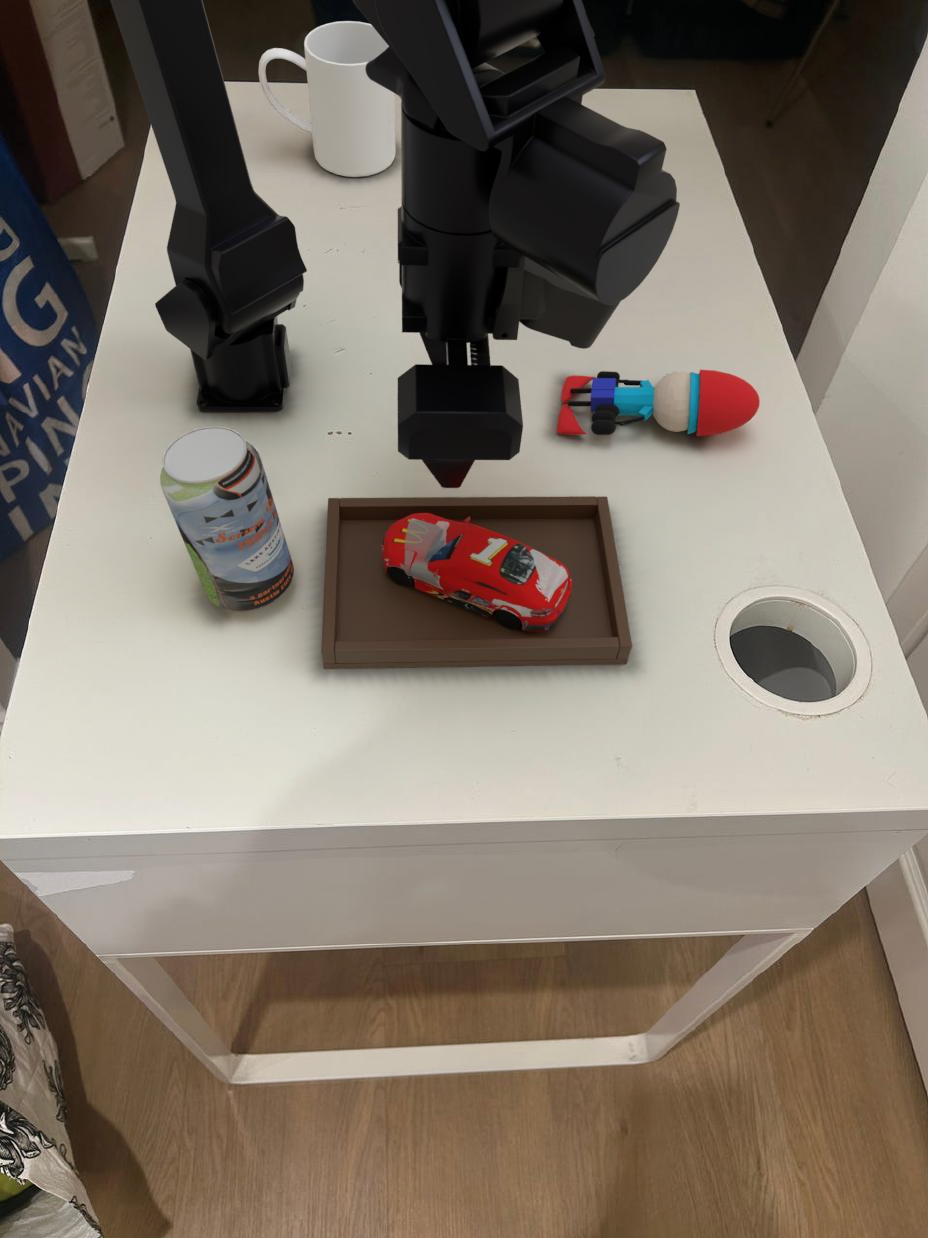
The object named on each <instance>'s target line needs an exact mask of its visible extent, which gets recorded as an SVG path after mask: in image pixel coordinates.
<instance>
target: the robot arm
mask: <svg viewBox="0 0 928 1238" xmlns="http://www.w3.org/2000/svg"><path fill="white" fill-rule="evenodd" d="M109 1H110V4H111V7H112V10H113V13H114V16H115V18H116V21H117V26H118V28H119V31H120V34H121V37H122V40H123V43H124V46H125V50H126V52H127V56H128V58H129V61H130V64H131V67H132V71H133V73H134V77H135V81H136V82H137V86H138V88H139V89H138V90H139V91H140V95H141V98H142V101H143V105H144V107H145V110H146V114H147V116H148V119H149V123H150V125H151V128H152V131H153V134H154V135H153V136H154V138H155V140H156V143H157V144H156V145H157V147H158V150H159V152H160V153H159V154H160V155H161V159H162V162H163V165H164V168H165V172H166V174H167V177H168V180H169V183H170V186H171V189H172V192H173V196H174V200H175V207H174V212H173V217H172V221H171V225H170V231H169V236H168V240H167V244H166V252H167V256H168V261H169V265H170V269H171V273H172V276H173V281H174V283H175V284H174V287H172V288H171V289H170V290H168V292H167V293H166V294H164V295H163V296H162V297H160V298H159V299H158V300H157V301H156V302H155V303H154V306H155V308H156V311H157V312H158V315H159V318H160V320H161V323H162V324H163V326H164V329H165V331H167V333H169V334H170V335H171V336H172V337H174V338H175V339H177V340H178V341H179V342H180V343H182V344H183V345H185V347H187V348H188V349H189V350H190V354H191V359H192V362H193V367H194V371H195V375H196V379H197V383H198V390H197V397H196V407H197V409H198V410H199V411H200V412H280V411H281V410H283V408H284V401H285V389H289V388H290V385H291V376H292V375H291V373H292V362H291V354H290V345H289V339H288V332H287V331H288V330H287V326H285V324H283V323H279V322H278V316H280V315H281V314H283V313H285V312H286V311H291V310H292V309H294V308H296V304H297V300H298V298H299V296H300V294H301V293H302V292H303V291H304V284H305V278H304V274H305V273H306V272H308V270H307V267H306V265H305V262H304V261H303V258H302V255H301V253H300V249H299V244H298V240H297V231H296V226H295V224H294V223H293V222H292V221H291V219H290V218H289V217H287V216H284V215H279V214H278V213H277V212H276V211H275V210H274V209H273V208H272V207H271V206H270V205H269V204H268V203H267V202H266V201H265V200H264V199H263V198H262V197H261V196H260V195H259V194H258V193H257V192H256V191H255V189H254V186H253V184H252V181H251V178H250V173H249V169H248V166H247V161H246V158H245V154H244V151H243V147H242V143H241V140H240V136H239V132H238V129H237V128H238V127H237V124H236V122H235V121H236V120H235V117H234V113H233V109H232V105H231V102H230V99H229V98H230V97H229V95H228V91H227V88H226V84H225V83H226V82H225V79H224V75H223V72H222V68H221V65H220V60H219V57H218V53H217V50H216V46H215V42H214V38H213V34H212V31H211V27H210V24H209V20H208V16H207V11H206V9H205V4H204V1H203V0H109ZM352 2H353V5H355V8H357V10H358V11H359V12H360V13H361V14H362V16H363V17H364V19H366V20H367V22H368V24H371V25H372V26H373V27H374V29H375V30H376V31H377V32H378V34H379V35H380V36H381V37H382V38H383V40H384V41H385V42H386V43H387V45H388V46H389V47H388V48H387V49H386V50H385V51H383V52H382V53H381V54H380V55H378V56H377V57H376V58H375V59H373V60H371V61H369V62H368V63H367V64H366V67H365V70H366V74H367V76H368V77H369V79H370V80H372V81H374V82H376V83H377V84H379V85H381V86H383V87H384V88H386V89H388V90H390V91H392V92H393V93H394V94H395V95H396V96H398V97H399V98H400V101H401V102H400V133H401V134H400V153H401V154H400V155H401V156H400V159H401V161H400V164H401V165H400V168H401V169H400V170H401V173H400V174H401V175H400V176H401V177H400V178H401V181H400V182H401V183H400V185H401V188H400V189H401V190H400V191H401V194H400V195H401V201H400V202H401V206H400V207H398V209H397V264H398V269H399V271H398V276H399V277H398V279H399V280H398V281H399V285H400V289H401V333H406V334H407V333H409V334H410V333H413V334H414V333H416V334H417V333H419V336H420V338H421V340H422V343H423V345H424V348H425V351H426V353H427V356H428V358H429V360H430V363H431V364H429V363H428V364H427V363H425V364H423V363H421V364H420V363H419V364H418V363H416V364H414V365H412V366H411V367H410V368H408V369H407V370H406V371H405V372H403V373H402V374H400V376H398V377H397V452H398V453H399V454H401V455H402V456H403V457H404V458H406V459H407V460H408V461H409V460H411V461H413V460H414V461H418V460H419V461H420V460H421V461H422V463H423V464H424V466H425V467H426V468H427V469H428V470H429V472H430V473H431V475H432V476H433V477H434V479H435V480H436V481H437V483H438V485H440V487H441V488H443V489H459V488H461V486H462V485H463V483H464V481H465V480H466V478H467V476H468V474H469V472H470V470H471V468H472V467H473V465H474V463H475V461H510V460H512V459H513V458H514V457H515V456H517V455H518V454H520V451H521V443H522V438H523V437H522V436H523V429H524V420H523V411H522V403H521V402H522V399H521V391H520V389H521V388H520V380H519V378H518V377H516V376H515V375H514V374H513V373H512V372H510V371H509V370H508V369H507V368H506V367H505V366H504V365H499V364H498V365H497V364H491V353H490V351H491V350H490V342H489V341H490V340H489V339H490V338H489V335H492V338H493V340H494V341H518V338H519V337H518V335H519V327H520V324H522V325H523V326H524V327H525V328H527V329H529V330H531V331H535V332H537V333H540V334H544V335H547V336H550V337H554V338H557V339H560V340H562V341H566V342H568V343H569V344H570V346H572V347H574V348H577V349H582V350H583V349H584V350H585V349H589V348H591V347H592V346H593V344H594V343H595V341H596V339H597V338H598V337H599V335H600V333H602V331H603V329H604V328H605V326H606V325H607V323H608V321H609V320H610V319H611V317H612V316H613V314H614V313H615V311H616V309H617V308H618V306H619V305H620V304H621V302H622V301H623V300H625V299H626V298H628V297H629V296H630V295H631V294H632V293H633V292H634V291H635V290H636V289H637V288H639V286H641V284H642V283H643V282H644V280H645V279H646V278H647V277H648V275H650V273H651V271H652V270H653V268H654V267H655V266H656V264H657V262H658V261H659V259H660V257H661V256H662V254H663V252H664V251H665V248H666V246H667V245H668V242H669V240H670V237H671V236H672V234H673V231H674V229H675V228H674V227H675V225H676V222H677V219H678V215H679V211H680V206H681V205H680V204H681V203H680V202H679V201H678V200H677V198H678V197H677V194H678V188H677V182H676V179H675V178H674V177H673V175H672V174H671V173H669V172H668V171H666V170H664V169H663V166H664V164H665V163H664V162H665V159H666V154H667V151H668V150H667V146H666V144H665V142H664V141H663V140H661V139H659V138H658V137H655V136H653V135H652V134H649V133H647V132H645V131H643V130H641V129H635V128H630V127H627V126H624V125H622V124H620V123H618V122H617V121H614V120H612V119H611V118H609V117H606V116H604V115H602V114H600V113H599V112H597V111H595V110H593V109H591V108H589V107H587V106H586V105H584V104H582V103H583V96H584V95H586V94H588V93H589V92H591V91H593V90H595V89H597V88H599V87H600V86H602V85H603V84H605V81H606V71H605V68H604V66H603V63H602V60H601V55H600V53H599V50H598V47H597V43H596V40H595V38H594V37H595V35H596V34H595V32H594V30H593V27H592V25H591V23H590V21H589V18H588V15H587V11H586V8H585V6H584V3H583V0H352ZM534 38H536V39H537V40H538V43H539V44H540V45H541V47H542V49H543V50H544V53H542V54H540V55H538V56H537V57H534V58H532V59H530V60H528V61H527V62H525V63H522V64H521V65H519V66H517V67H515V68H514V69H512V70H510V71H508V72H506V73H505V72H503V71H502V70H500V69H498V68H497V67H495V66H492V65H490V64H488V63H487V62H489V61H491V60H493V59H495V58H497V57H499V56H501V55H502V54H505V53H506V52H509V51H511V50H513V49H514V48H517V47H518V46H521V45H523V44H524V43H527V42H528V41H530V40H532V39H534ZM468 344H469V353H470V354H469V357H468ZM468 358H470V364H469V360H468Z"/></svg>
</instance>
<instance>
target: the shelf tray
mask: <svg viewBox="0 0 928 1238" xmlns="http://www.w3.org/2000/svg"><path fill="white" fill-rule="evenodd" d="M416 513H430V514H433V515H436V516H439V517H442V518H445V519H449V520H452V521H456V522H462V523H463V521H464V520H465V519H467V518H468V517H471V518H470V521H469V524H473V525H477V526H480V527H483V528H485V529H488V530H491V531H493V532H496V533H498V534H501V535H504V536H506V537H509V538H511V539H513V540H516V541H518V542H520V543H522V544H525V545H527V546H529V547H531V548H533V549H535V550H537V551H539V552H541V553H543V554H545V555H547V556H549V557H552V558H554V559H556V560H558V561H559V562H561V563H562V564H563V565H564V566H565V567H566V568H567V569H568V571H569V574H570V578H571V581H572V588H571V592H570V593H571V596H570V598H569V599H568V602H567V605H566V607H565V609H564V611H563V613H562V615H561V616H560V618H559V619H558V622H557V624H556V626H554V625H553V626H552V628H550V629H548V630H546V631H540V632H530V631H524V630H522V627H523V626H522V624H521V626H520V627H519V628H518V629H509V628H506V627H504V626H502V625H501V624H499V623H498V622H497V620H496V619H495V616H494V615H495V613H494V615H493V617H492V618H491V619H490V618H488V617H485V616H483V615H480V614H478V613H476V612H473V611H471V610H468V609H466V608H463V607H461V606H458V605H456V604H453V603H451V602H448V601H446V600H443V599H441V598H438V597H436V596H433V595H431V594H428V593H426V592H423V591H421V590H418V589H416V588H415V582H414V584H413V585H412V586H410V587H405V586H401V585H399V584H397V583H396V582H394V581H393V580H392V579H391V577H390V576H389V571H388V573H387V574H386V572H385V570H384V567H383V562H382V553H381V543H382V540H383V537H384V536H385V534H386V532H387V531H388V529H389V528H390V527H391V526H392V525H393V524H394V523H395V522H396V521H398V520H401V519H403V518H405V517H407V516H409V515H412V514H416ZM465 523H466V522H465ZM325 539H326V540H325V558H324V561H325V563H324V580H323V581H324V582H323V583H324V585H323V586H324V587H323V603H322V605H323V606H322V626H321V627H322V629H321V649H320V650H321V658H322V664H323V669H324V670H325V669H326V670H327V669H328V670H329V669H330V670H331V669H333V670H334V669H385V668H388V669H389V668H391V669H392V668H442V667H445V668H448V667H450V668H452V667H453V668H454V667H456V668H457V667H511V666H567V665H569V666H571V665H575V666H577V665H579V666H580V665H625V664H626V665H627V663H628V662H629V661H628V660H629V657H630V654H631V652H632V649H633V641H632V637H631V636H632V635H631V630H630V625H629V618H628V611H627V607H626V600H625V594H624V589H623V583H622V577H621V569H620V565H619V559H618V558H619V557H618V553H617V547H616V539H615V534H614V529H613V523H612V517H611V511H610V505H609V499H608V496H595V495H594V496H593V495H592V496H591V495H590V496H588V495H587V496H586V495H585V496H583V495H582V496H460V497H459V496H446V497H445V496H442V497H439V496H435V497H433V496H431V497H430V496H429V497H425V496H423V497H421V496H419V497H418V496H417V497H414V496H413V497H328V498H327V515H326V537H325Z"/></svg>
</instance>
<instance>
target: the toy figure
mask: <svg viewBox="0 0 928 1238" xmlns="http://www.w3.org/2000/svg"><path fill="white" fill-rule="evenodd" d="M698 372H699V373H697V372H693V371H691V372H688V371H684V370H677V371H672V372H670V373H669V372H668V373H666V375H664V376H663V377H661V378H660V379H659V380H658V382H657V383H656V385H655V386H653V385H652V383H651V382H650V380H649V379H646V380H639V379H637V380H635V379H621V375H620V373H619V372H617V371H609V370H608V371H606V370H602V371H599V372H598V373H597V375H596V377H595V376H591V375H590V376H589V375H575V374H574V375H568V376H566V378H565V379H564V383H563V385H562V388H561V395H560V396H561V403H563V405H562V406H561V408H560V411H559V414H558V418H557V419H558V420H557V427H556V433H557V434H560V435H565V436H566V435H567V436H576V435H577V436H580V435H581V436H582V435H587V432H585V431H584V429H582V427H581V426H580V423H579V422H578V420H577V418H576V416H575V414H574V412H573V410H572V408H571V407H590V413H592V415H591V422H592V423H591V425H590V426H591V427H590V429H591V432H592V434H594V435H596V436H610V435H612V434H614V433H615V431H616V426H620V427H623V426H626V425H631V424H634V423H639V422H647V420H648V419H649V418H650V417H651V416H653V417H654V419H655V421H656V423H658V425H659V426H661V427H662V428H664V429H665V430H667V431H670V432H677V433H679V432H684V431H686V433H687V435H692V434H694V433H695V436H696V437H707V436H715V435H719V434H724V433H728V432H730V431H733V430H736V429H738V428H740V427H742V426H744V425H745V424H747V423H748V422H749V421H750V420H752V418H753V417H755V416H756V414H757V412H758V410H759V408H760V405H761V404H760V401H761V399H760V396H759V394H758V391H757V389H755V387H754V386H752V384H750V383H749V382H748V381H747V380H745V379H743V378H741V377H739V376H737V375H735V374H731V373H729V372H723V371H719V370H713V369H699V371H698ZM590 382H591V387H585V386H587V384H589V383H590ZM620 384H623V385H624V386H619V385H620ZM584 387H585V388H584ZM577 394H590V400H571V399H572V398H573V397H574V396H575V395H577ZM619 416H637V417H632V418H630V419H625V420H616V419H617V418H618V417H619Z"/></svg>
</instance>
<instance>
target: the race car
mask: <svg viewBox="0 0 928 1238" xmlns="http://www.w3.org/2000/svg"><path fill="white" fill-rule="evenodd" d="M470 518H471V517H468V518H467V519H465V520H464V521H463V523H462V522H456V521H452V520H449V519H445V518H442V517H439V516H436V515H433V514H430V513H416V514H412V515H409V516H407V517H405V518H403V519H401V520H398V521H396V522H395V523H394V524H393V525H392V526H391V527H390V528H389V529H388V531H387V532H386V534H385V536H384V537H383V540H382V543H381V553H382V562H383V567H384V570H385V572H386V574H387V573H388V571H389V576H390V577H391V579H392V580H393V581H394V582H396V583H397V584H399V585H401V586H405V587H410V586H412V585H413V584H414V582H415V588H416V589H418V590H421V591H423V592H426V593H428V594H431V595H433V596H436V597H438V598H441V599H443V600H446V601H448V602H451V603H453V604H456V605H458V606H461V607H463V608H466V609H468V610H471V611H473V612H476V613H478V614H480V615H483V616H485V617H488V618H490V619H491V618H492V617H493V615H494V613H495V615H494V616H495V619H496V620H497V622H498V623H499V624H501V625H502V626H504V627H506V628H509V629H518V628H519V627H520V626H521V624H522V626H523V627H522V630H524V631H530V632H540V631H546V630H548V629H550V628H552V626H553V625H554V626H556V624H557V622H558V619H559V618H560V616H561V615H562V613H563V611H564V609H565V607H566V605H567V602H568V599H569V598H570V596H571V593H570V592H571V588H572V581H571V578H570V574H569V571H568V569H567V568H566V567H565V566H564V565H563V564H562V563H561V562H559V561H558V560H556V559H554V558H552V557H549V556H547V555H545V554H543V553H541V552H539V551H537V550H535V549H533V548H531V547H529V546H527V545H525V544H522V543H520V542H518V541H516V540H513V539H511V538H509V537H506V536H504V535H501V534H498V533H496V532H493V531H491V530H488V529H485V528H483V527H480V526H477V525H473V524H469V521H470ZM465 522H466V523H465Z"/></svg>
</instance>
